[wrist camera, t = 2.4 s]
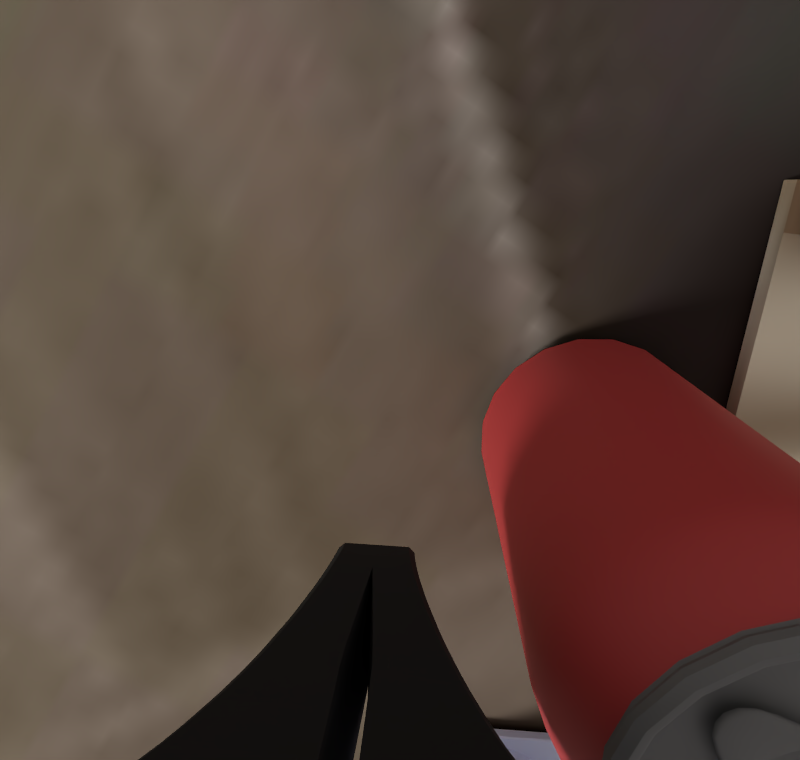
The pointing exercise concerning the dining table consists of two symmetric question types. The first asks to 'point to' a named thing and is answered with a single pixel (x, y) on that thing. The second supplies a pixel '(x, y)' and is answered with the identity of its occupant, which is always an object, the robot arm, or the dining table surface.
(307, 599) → the robot arm
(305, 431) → the dining table surface
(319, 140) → the dining table surface
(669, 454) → the beer can
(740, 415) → the birch tray
